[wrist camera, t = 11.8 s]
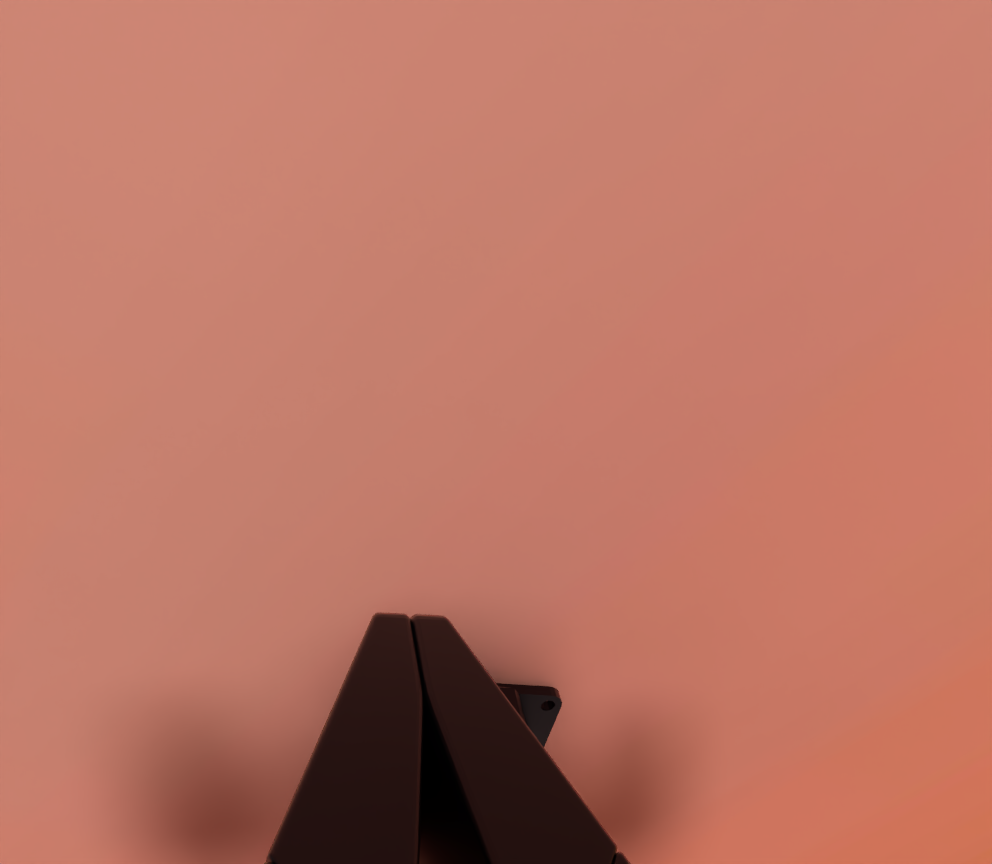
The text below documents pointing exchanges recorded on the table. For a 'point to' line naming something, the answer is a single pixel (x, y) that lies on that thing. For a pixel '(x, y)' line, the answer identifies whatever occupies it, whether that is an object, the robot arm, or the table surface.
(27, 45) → the table surface
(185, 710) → the table surface
